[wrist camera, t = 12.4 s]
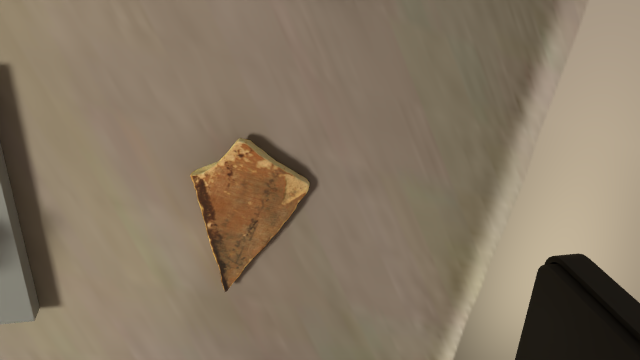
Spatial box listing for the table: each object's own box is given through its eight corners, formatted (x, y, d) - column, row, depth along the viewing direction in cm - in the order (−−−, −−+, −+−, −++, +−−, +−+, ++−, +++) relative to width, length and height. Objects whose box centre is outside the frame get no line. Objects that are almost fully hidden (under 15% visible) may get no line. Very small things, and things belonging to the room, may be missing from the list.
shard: (224, 281, 43) (226, 295, 42) (138, 235, 40) (136, 249, 38) (311, 179, 41) (316, 189, 39) (227, 121, 37) (228, 131, 36)
